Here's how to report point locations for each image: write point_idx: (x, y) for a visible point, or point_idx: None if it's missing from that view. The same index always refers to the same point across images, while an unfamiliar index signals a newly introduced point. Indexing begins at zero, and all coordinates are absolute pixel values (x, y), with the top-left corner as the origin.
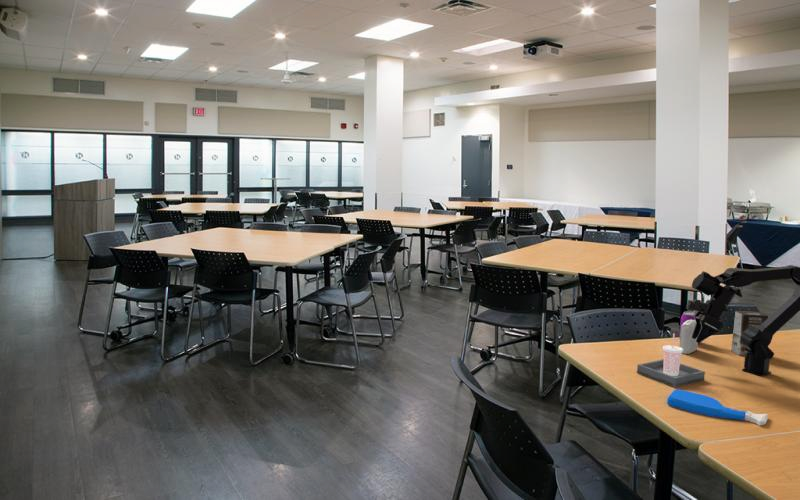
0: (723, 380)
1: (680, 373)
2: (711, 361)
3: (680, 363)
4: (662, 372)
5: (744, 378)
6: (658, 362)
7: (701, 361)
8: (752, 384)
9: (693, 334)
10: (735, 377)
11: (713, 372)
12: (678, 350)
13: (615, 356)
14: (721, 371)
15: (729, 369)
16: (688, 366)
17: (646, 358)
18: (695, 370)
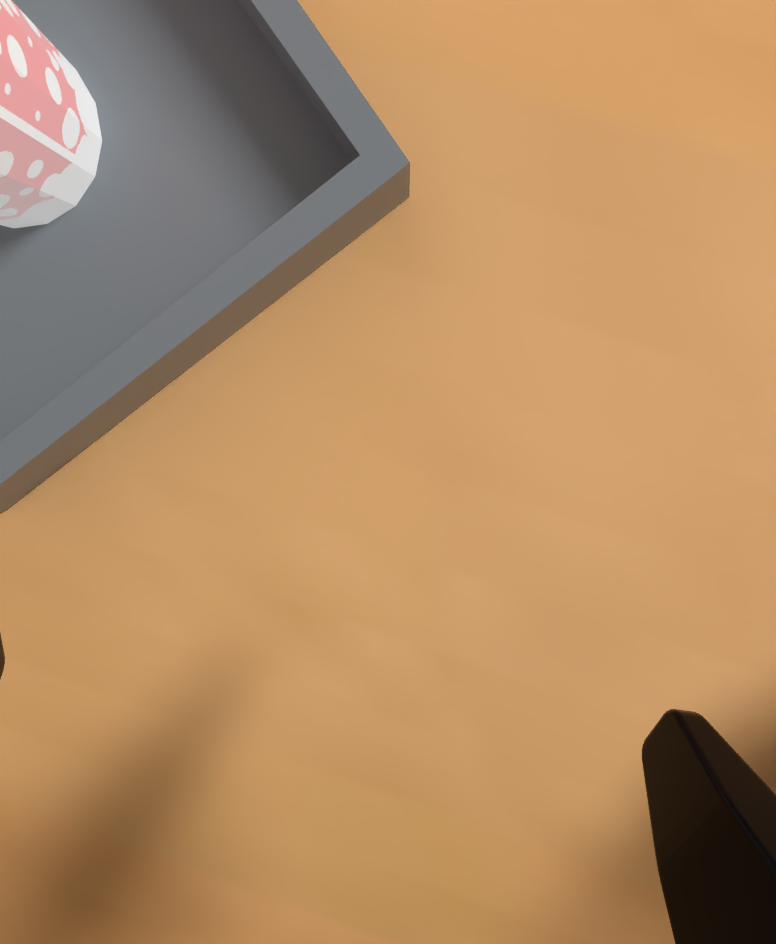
0: (61, 713)
1: (54, 269)
2: None
3: (210, 313)
4: None
5: (183, 939)
6: (251, 2)
7: None
8: (16, 939)
9: (710, 789)
10: (193, 867)
11: (310, 707)
12: None
13: None
14: (364, 803)
15: (451, 909)
16: (97, 386)
17: (742, 21)
18: (6, 442)
